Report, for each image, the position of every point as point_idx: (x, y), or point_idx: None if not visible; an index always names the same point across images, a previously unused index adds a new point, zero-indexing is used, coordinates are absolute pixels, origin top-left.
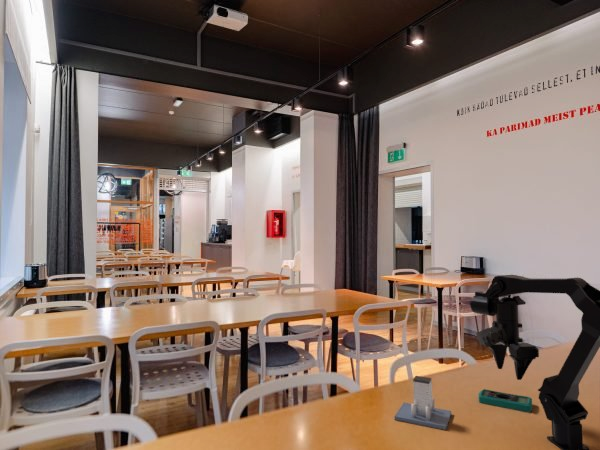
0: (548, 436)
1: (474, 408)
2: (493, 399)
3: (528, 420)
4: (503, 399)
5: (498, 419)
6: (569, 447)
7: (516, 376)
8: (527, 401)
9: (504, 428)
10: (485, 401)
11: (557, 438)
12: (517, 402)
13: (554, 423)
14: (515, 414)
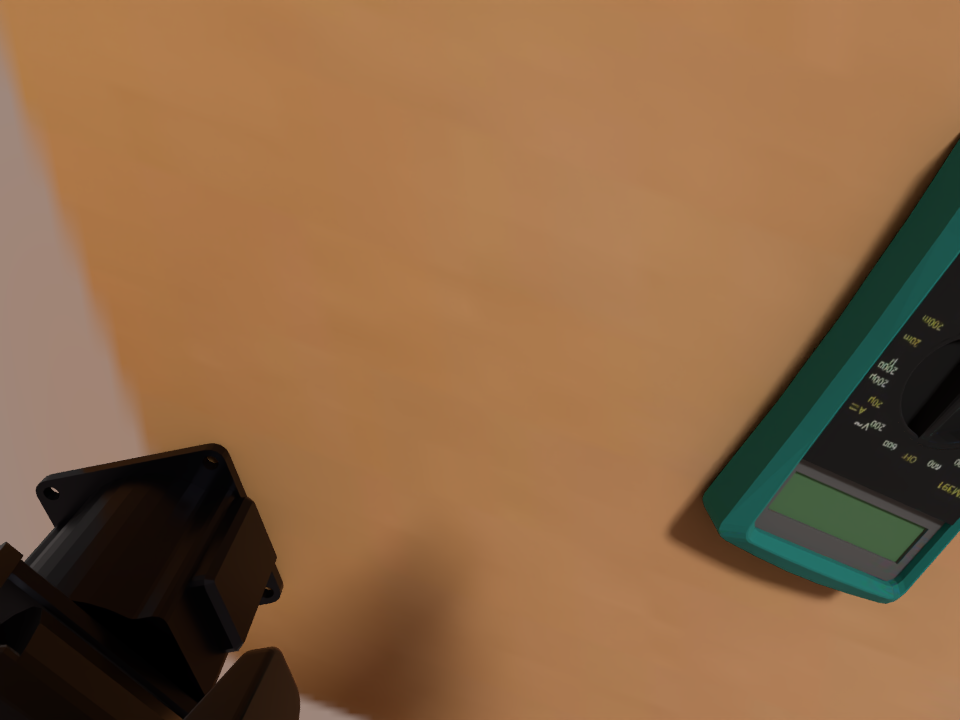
0: (221, 463)
1: (828, 3)
2: (921, 268)
3: (548, 435)
4: (887, 365)
5: (550, 184)
6: (58, 524)
7: (239, 687)
8: (826, 553)
9: (354, 174)
10: (949, 181)
11: (102, 501)
12: (791, 465)
13: (72, 567)
14: (666, 377)
